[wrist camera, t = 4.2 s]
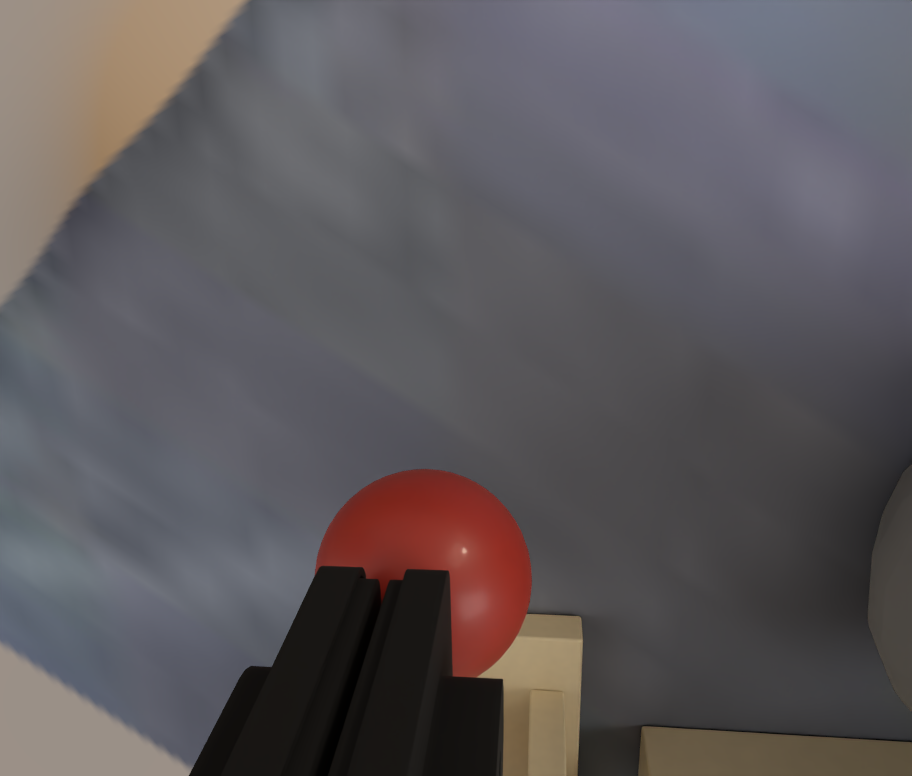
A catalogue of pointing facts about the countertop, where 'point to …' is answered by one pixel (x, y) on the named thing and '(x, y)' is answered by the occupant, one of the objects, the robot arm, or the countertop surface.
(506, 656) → the lever bracket
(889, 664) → the cup
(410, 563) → the red knob lever
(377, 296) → the countertop surface
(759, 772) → the toaster
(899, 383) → the countertop surface
